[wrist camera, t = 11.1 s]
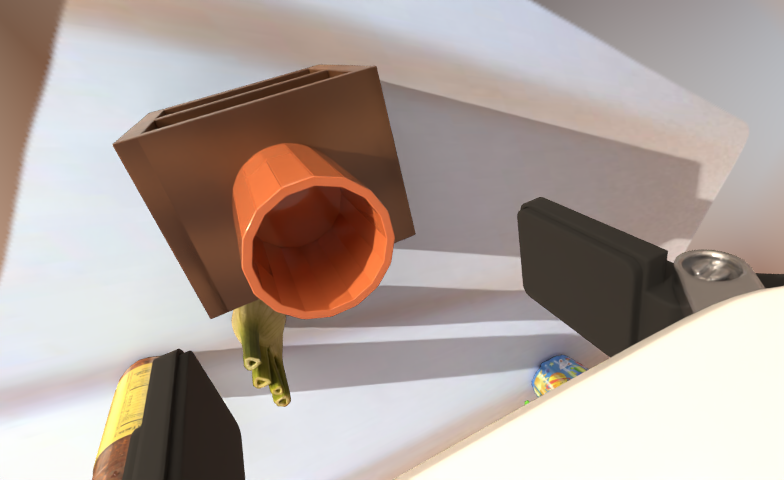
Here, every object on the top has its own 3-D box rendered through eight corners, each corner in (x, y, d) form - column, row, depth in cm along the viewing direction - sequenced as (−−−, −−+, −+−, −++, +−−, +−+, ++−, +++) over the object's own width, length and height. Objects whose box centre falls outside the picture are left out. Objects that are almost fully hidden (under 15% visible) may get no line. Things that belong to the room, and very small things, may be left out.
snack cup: (502, 413, 63) (549, 469, 54) (513, 356, 59) (565, 407, 50) (581, 388, 69) (634, 436, 60) (595, 335, 65) (655, 377, 56)
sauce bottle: (177, 409, 42) (156, 643, 25) (107, 399, 39) (29, 658, 22) (204, 356, 41) (201, 563, 24) (135, 341, 38) (75, 566, 21)
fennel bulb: (227, 283, 39) (234, 362, 29) (281, 277, 41) (305, 348, 31) (233, 335, 41) (241, 425, 31) (283, 327, 43) (306, 409, 33)
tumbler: (212, 164, 22) (213, 211, 15) (325, 127, 23) (373, 154, 17) (258, 265, 25) (276, 341, 18) (356, 226, 26) (407, 283, 20)
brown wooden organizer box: (147, 113, 32) (111, 144, 20) (319, 64, 35) (376, 65, 23) (210, 236, 37) (210, 319, 25) (354, 183, 40) (416, 234, 28)
